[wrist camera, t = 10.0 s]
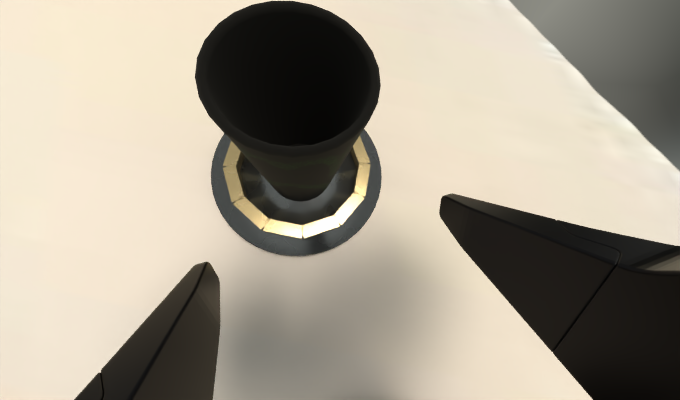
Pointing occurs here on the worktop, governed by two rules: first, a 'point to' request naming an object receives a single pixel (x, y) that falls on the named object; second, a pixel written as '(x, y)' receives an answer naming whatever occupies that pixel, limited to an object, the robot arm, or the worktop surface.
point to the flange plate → (296, 202)
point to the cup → (289, 91)
